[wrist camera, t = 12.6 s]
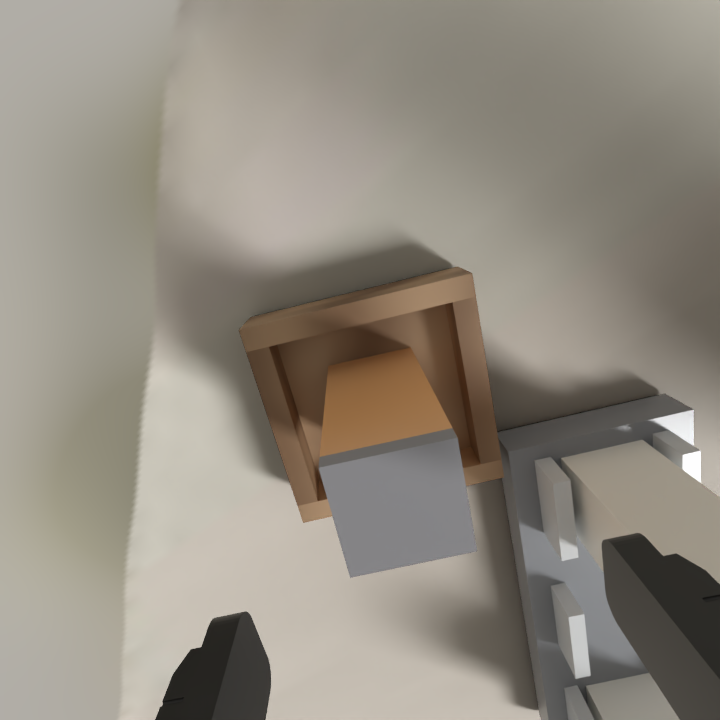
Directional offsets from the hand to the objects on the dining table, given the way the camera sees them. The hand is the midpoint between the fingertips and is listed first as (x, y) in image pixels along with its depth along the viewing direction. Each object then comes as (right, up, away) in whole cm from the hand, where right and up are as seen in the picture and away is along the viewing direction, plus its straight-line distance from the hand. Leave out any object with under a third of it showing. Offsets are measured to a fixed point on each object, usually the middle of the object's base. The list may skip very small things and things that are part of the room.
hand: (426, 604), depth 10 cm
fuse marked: (-1, +4, +12) cm, 12 cm away
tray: (-1, +4, +12) cm, 13 cm away
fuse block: (+13, -7, +17) cm, 22 cm away
